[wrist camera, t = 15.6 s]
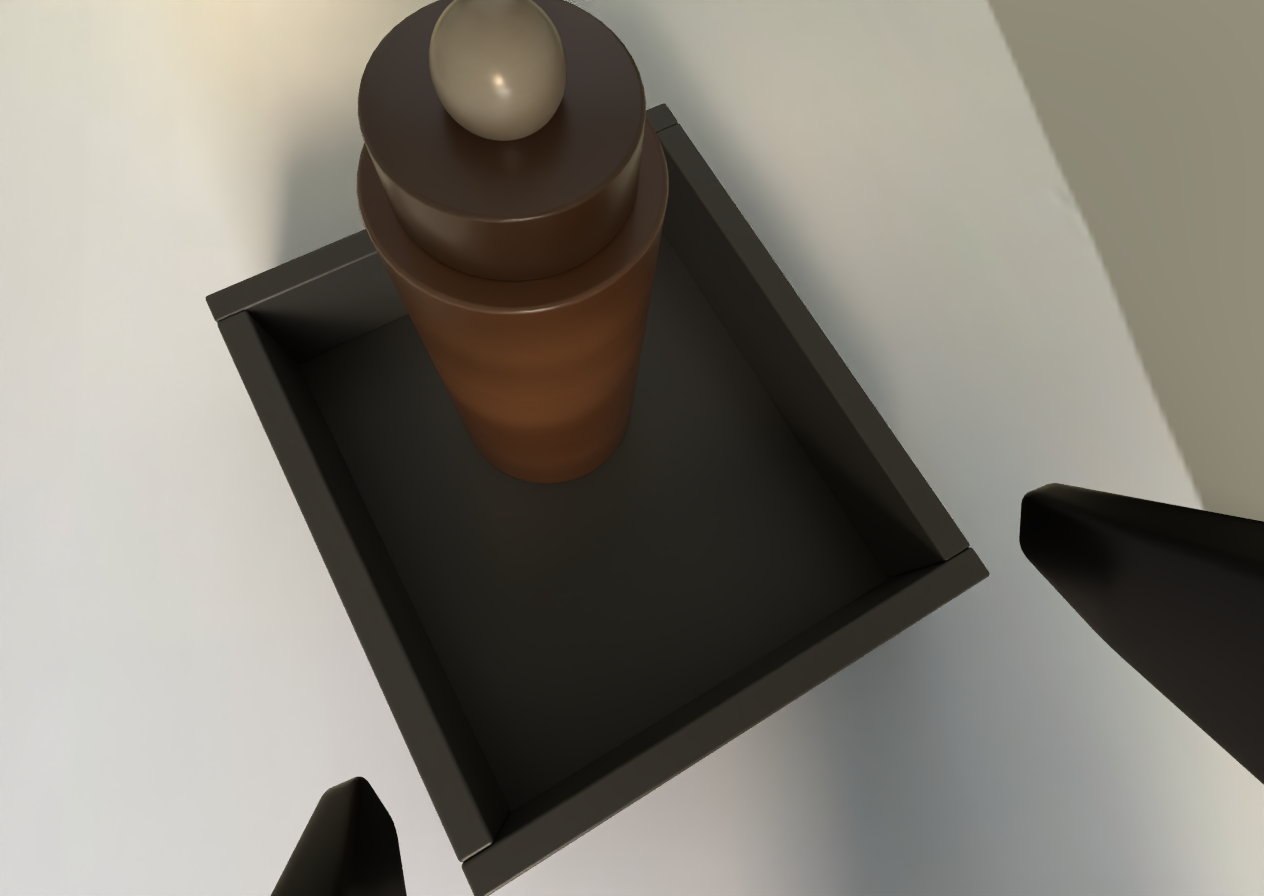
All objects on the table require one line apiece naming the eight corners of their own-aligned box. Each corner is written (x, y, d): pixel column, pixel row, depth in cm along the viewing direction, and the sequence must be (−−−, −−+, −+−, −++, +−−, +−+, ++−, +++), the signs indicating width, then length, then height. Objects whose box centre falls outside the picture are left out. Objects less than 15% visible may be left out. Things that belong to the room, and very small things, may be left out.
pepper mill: (622, 493, 21) (680, 208, 8) (450, 474, 21) (226, 154, 8) (638, 338, 22) (707, -114, 9) (478, 319, 22) (327, -164, 9)
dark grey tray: (918, 591, 21) (992, 574, 17) (500, 854, 18) (476, 903, 15) (652, 189, 25) (665, 101, 21) (270, 361, 22) (202, 296, 18)
